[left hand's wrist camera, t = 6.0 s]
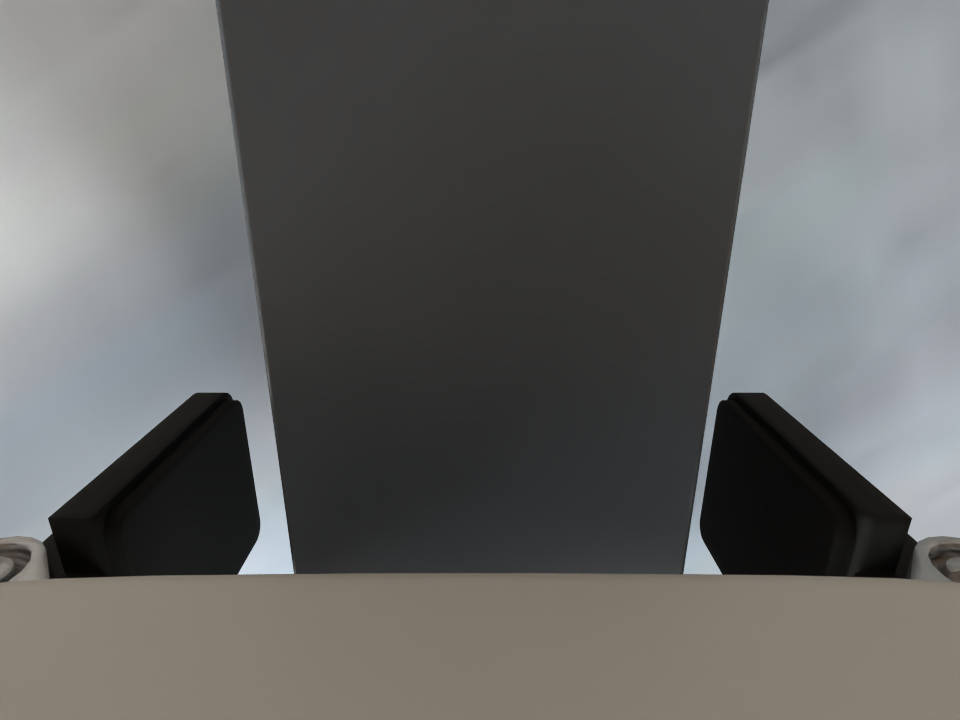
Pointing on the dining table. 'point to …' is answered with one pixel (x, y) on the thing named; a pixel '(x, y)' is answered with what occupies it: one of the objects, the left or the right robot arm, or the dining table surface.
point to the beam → (490, 270)
